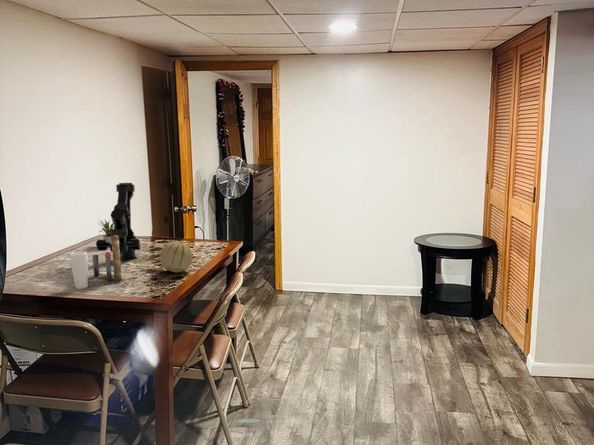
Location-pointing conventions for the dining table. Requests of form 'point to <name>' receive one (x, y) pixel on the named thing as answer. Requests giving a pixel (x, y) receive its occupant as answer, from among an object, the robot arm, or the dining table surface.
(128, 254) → the robot arm
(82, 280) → the cream white cylinder
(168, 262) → the cantaloupe
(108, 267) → the post
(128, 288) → the dining table surface
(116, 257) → the gate
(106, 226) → the house plant
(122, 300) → the dining table surface
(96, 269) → the post
